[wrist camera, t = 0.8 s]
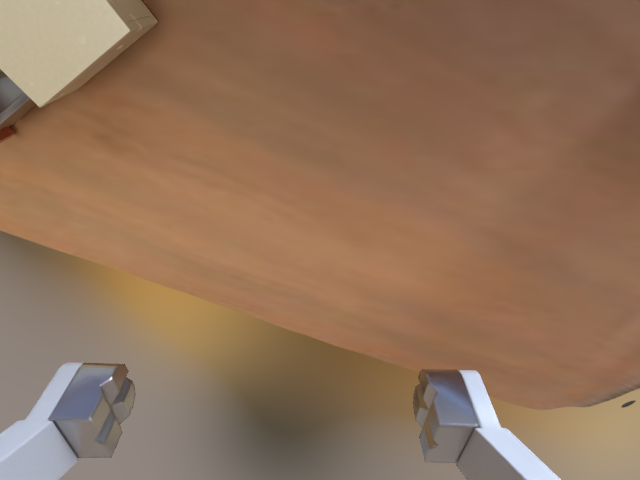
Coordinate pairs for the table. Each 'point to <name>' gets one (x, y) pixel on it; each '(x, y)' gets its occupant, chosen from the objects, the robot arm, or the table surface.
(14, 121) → the rack drawer
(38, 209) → the table surface
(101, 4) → the beige cabinet housing
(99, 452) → the robot arm
